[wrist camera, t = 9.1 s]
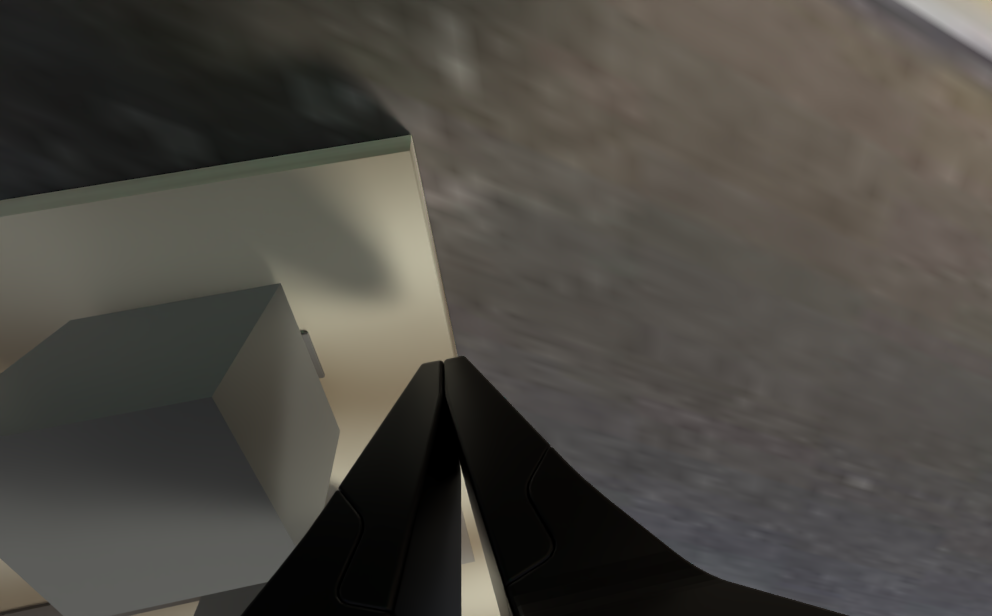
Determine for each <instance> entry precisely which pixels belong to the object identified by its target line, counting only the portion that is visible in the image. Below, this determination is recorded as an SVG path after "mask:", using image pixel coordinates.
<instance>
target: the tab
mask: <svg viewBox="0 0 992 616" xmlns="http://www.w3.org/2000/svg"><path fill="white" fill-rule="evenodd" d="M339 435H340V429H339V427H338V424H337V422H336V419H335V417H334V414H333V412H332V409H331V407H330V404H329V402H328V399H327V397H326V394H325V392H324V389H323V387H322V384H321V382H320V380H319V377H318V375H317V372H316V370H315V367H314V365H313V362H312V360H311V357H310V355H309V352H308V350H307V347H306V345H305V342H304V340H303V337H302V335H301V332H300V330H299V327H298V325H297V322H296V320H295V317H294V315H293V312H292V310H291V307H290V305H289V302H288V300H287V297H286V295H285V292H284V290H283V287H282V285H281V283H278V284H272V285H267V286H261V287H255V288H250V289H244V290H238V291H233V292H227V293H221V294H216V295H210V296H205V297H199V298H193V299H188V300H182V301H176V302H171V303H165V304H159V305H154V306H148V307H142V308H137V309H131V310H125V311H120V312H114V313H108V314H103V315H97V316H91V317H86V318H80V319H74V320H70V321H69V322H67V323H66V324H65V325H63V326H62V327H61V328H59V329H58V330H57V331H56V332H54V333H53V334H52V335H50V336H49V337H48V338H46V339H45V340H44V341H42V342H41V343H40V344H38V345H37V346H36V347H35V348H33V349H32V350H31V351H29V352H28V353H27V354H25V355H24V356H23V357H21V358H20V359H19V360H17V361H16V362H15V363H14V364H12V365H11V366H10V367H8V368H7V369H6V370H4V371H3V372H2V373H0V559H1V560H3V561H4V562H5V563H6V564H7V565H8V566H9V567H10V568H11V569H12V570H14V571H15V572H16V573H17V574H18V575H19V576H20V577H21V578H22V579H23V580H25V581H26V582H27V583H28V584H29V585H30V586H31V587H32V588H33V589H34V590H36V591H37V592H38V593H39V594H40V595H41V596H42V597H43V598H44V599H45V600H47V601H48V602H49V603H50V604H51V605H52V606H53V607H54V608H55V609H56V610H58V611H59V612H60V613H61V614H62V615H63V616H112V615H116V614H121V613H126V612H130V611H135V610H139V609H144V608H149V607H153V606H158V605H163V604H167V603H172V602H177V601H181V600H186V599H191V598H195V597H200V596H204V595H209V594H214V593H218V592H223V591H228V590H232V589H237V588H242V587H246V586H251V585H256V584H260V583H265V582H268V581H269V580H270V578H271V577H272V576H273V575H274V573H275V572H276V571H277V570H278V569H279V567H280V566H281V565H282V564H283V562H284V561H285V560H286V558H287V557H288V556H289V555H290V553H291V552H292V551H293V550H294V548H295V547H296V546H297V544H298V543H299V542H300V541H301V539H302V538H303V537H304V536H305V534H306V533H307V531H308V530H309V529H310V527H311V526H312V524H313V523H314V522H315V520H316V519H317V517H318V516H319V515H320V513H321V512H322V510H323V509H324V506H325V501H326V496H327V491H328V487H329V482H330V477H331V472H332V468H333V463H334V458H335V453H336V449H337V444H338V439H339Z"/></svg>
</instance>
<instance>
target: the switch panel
mask: <svg viewBox="0 0 992 616" xmlns="http://www.w3.org/2000/svg"><path fill="white" fill-rule="evenodd" d="M278 283H281V285H282V287H283V290H284V292H285V295H286V297H287V300H288V302H289V305H290V307H291V310H292V312H293V315H294V317H295V320H296V322H297V325H298V327H299V330H300V332H301V335H302V337H303V340H304V342H305V345H306V347H307V350H308V352H309V355H310V357H311V360H312V362H313V365H314V367H315V370H316V372H317V375H318V377H319V380H320V382H321V384H322V387H323V389H324V392H325V394H326V397H327V399H328V402H329V404H330V407H331V409H332V412H333V414H334V417H335V419H336V422H337V424H338V427H339V429H340V435H339V439H338V444H337V449H336V453H335V458H334V463H333V468H332V472H331V477H330V482H329V487H328V491H327V496H326V501H325V506H326V504H327V503H328V502H329V500H330V499H331V497H332V496H333V494H334V493H335V491H337V490H339V489H338V488H339V486H340V484H341V483H342V481H343V480H344V478H345V477H346V475H347V474H348V472H349V471H350V469H351V468H352V466H353V465H354V463H355V462H356V460H357V459H358V457H359V456H360V454H361V453H362V451H363V450H364V448H365V447H366V445H367V444H368V443H369V441H370V440H371V438H372V437H373V435H374V434H375V432H376V431H377V429H378V428H379V426H380V425H381V423H382V422H383V420H384V419H385V417H386V416H387V414H388V413H389V411H390V410H391V408H392V407H393V405H394V404H395V402H396V401H397V400H398V398H399V397H400V395H401V394H402V392H403V391H404V389H405V388H406V386H407V385H408V383H409V382H410V380H411V379H412V377H413V376H414V374H415V373H416V371H417V370H418V368H419V367H420V365H421V364H423V363H427V362H433V361H438V360H441V361H443V363H444V361H445V360H446V359H449V358H454V357H458V355H457V351H456V346H455V341H454V336H453V331H452V327H451V322H450V317H449V312H448V307H447V303H446V298H445V293H444V288H443V283H442V279H441V274H440V269H439V264H438V260H437V255H436V250H435V245H434V240H433V236H432V231H431V226H430V221H429V216H428V212H427V207H426V202H425V197H424V192H423V188H422V183H421V178H420V173H419V169H418V164H417V159H416V154H415V149H414V145H413V140H412V135H406V136H400V137H394V138H387V139H381V140H375V141H369V142H362V143H356V144H350V145H344V146H337V147H331V148H325V149H319V150H312V151H306V152H300V153H294V154H287V155H281V156H275V157H269V158H262V159H256V160H250V161H243V162H237V163H231V164H225V165H218V166H212V167H206V168H200V169H193V170H187V171H181V172H175V173H168V174H162V175H156V176H150V177H143V178H137V179H131V180H125V181H118V182H112V183H106V184H100V185H93V186H87V187H81V188H75V189H68V190H62V191H56V192H50V193H43V194H37V195H31V196H24V197H18V198H12V199H6V200H0V373H2V372H3V371H4V370H6V369H7V368H8V367H10V366H11V365H12V364H14V363H15V362H16V361H17V360H19V359H20V358H21V357H23V356H24V355H25V354H27V353H28V352H29V351H31V350H32V349H33V348H35V347H36V346H37V345H38V344H40V343H41V342H42V341H44V340H45V339H46V338H48V337H49V336H50V335H52V334H53V333H54V332H56V331H57V330H58V329H59V328H61V327H62V326H63V325H65V324H66V323H67V322H69V321H70V320H74V319H80V318H86V317H91V316H97V315H103V314H108V313H114V312H120V311H125V310H131V309H137V308H142V307H148V306H154V305H159V304H165V303H171V302H176V301H182V300H188V299H193V298H199V297H205V296H210V295H216V294H221V293H227V292H233V291H238V290H244V289H250V288H255V287H261V286H267V285H272V284H278ZM460 467H461V465H460ZM325 506H324V507H325ZM200 598H201V596H200V597H195V598H191V599H186V600H181V601H177V602H172V603H167V604H163V605H158V606H153V607H149V608H144V609H139V610H135V611H130V612H126V613H121V614H116V615H112V616H194V613H195V611H196V608H197V606H198V603H199V601H200ZM461 609H462V616H501V615H500V612H499V608H498V604H497V601H496V597H495V593H494V590H493V586H492V582H491V578H490V575H489V571H488V567H487V564H486V560H485V556H484V553H483V549H482V545H481V541H480V538H479V534H478V530H477V527H476V523H475V519H474V516H473V512H472V508H471V504H470V501H469V497H468V493H467V490H466V486H465V482H464V478H463V474H462V469H461ZM0 616H63V615H62V614H61V613H60V612H59V611H58V610H56V609H55V608H54V607H53V606H52V605H51V604H50V603H49V602H48V601H47V600H45V599H44V598H43V597H42V596H41V595H40V594H39V593H38V592H37V591H36V590H34V589H33V588H32V587H31V586H30V585H29V584H28V583H27V582H26V581H25V580H23V579H22V578H21V577H20V576H19V575H18V574H17V573H16V572H15V571H14V570H12V569H11V568H10V567H9V566H8V565H7V564H6V563H5V562H4V561H3V560H1V559H0Z"/></svg>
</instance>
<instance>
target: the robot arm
mask: <svg viewBox="0 0 992 616" xmlns="http://www.w3.org/2000/svg"><path fill="white" fill-rule="evenodd" d="M460 465H461V467H460ZM461 469H462V474H463V478H464V482H465V486H466V490H467V493H468V497H469V501H470V504H471V508H472V512H473V516H474V519H475V523H476V527H477V530H478V534H479V538H480V541H481V545H482V549H483V553H484V556H485V560H486V564H487V567H488V571H489V575H490V578H491V582H492V586H493V590H494V593H495V597H496V601H497V604H498V608H499V612H500V615H501V616H848V615H844V614H841V613H837V612H834V611H830V610H827V609H823V608H820V607H816V606H813V605H809V604H806V603H802V602H799V601H795V600H792V599H788V598H785V597H781V596H778V595H774V594H771V593H767V592H764V591H760V590H757V589H753V588H750V587H746V586H743V585H739V584H736V583H732V582H729V581H726V580H722V579H720V578H718V577H715V576H713V575H711V574H709V573H707V572H705V571H703V570H701V569H700V568H698V567H696V566H694V565H693V564H691V563H690V562H688V561H687V560H685V559H684V558H682V557H681V556H680V555H678V554H677V553H676V552H674V551H673V550H672V549H670V548H669V547H668V546H667V545H665V544H664V543H663V542H662V541H660V540H659V539H658V538H657V537H655V536H654V535H653V534H652V533H650V532H649V531H648V530H646V529H645V528H644V527H643V526H641V525H640V524H639V523H638V522H636V521H635V520H634V519H633V518H631V517H630V516H629V515H628V514H626V513H625V512H624V511H623V510H621V509H620V508H619V507H618V506H616V505H615V504H614V503H612V502H611V501H610V500H609V499H607V498H606V497H605V496H604V495H603V494H602V493H600V492H599V491H598V490H597V489H596V488H594V487H593V486H592V485H591V484H590V483H588V482H587V481H586V480H585V479H584V478H583V477H582V476H581V475H580V474H579V473H578V472H577V471H575V470H574V469H573V468H572V467H571V466H570V465H569V464H568V463H567V462H566V461H565V460H564V459H563V458H562V457H561V456H560V455H559V454H558V453H557V451H556V450H555V449H554V448H552V447H550V445H549V443H548V442H547V441H546V440H545V439H544V438H543V437H542V436H541V435H540V434H539V433H538V432H537V431H536V430H535V429H534V428H533V427H532V426H531V425H530V424H529V423H528V422H527V421H526V420H525V418H524V417H523V416H522V415H521V414H520V413H519V412H518V411H517V410H516V409H515V408H514V407H513V406H512V405H511V404H510V403H509V402H508V401H507V400H506V399H505V398H504V397H503V396H502V395H501V394H500V392H499V391H498V390H497V389H496V388H495V387H494V386H493V385H492V384H491V383H490V382H489V381H488V380H487V379H486V378H485V377H484V376H483V375H482V374H481V373H480V372H479V371H478V370H477V369H476V368H475V366H474V365H473V364H472V363H471V362H470V361H469V360H468V359H467V358H466V357H464V356H459V357H454V358H449V359H446V360H445V361H444V363H443V361H441V360H438V361H433V362H427V363H423V364H421V365H420V367H419V368H418V370H417V371H416V373H415V374H414V376H413V377H412V379H411V380H410V382H409V383H408V385H407V386H406V388H405V389H404V391H403V392H402V394H401V395H400V397H399V398H398V400H397V401H396V402H395V404H394V405H393V407H392V408H391V410H390V411H389V413H388V414H387V416H386V417H385V419H384V420H383V422H382V423H381V425H380V426H379V428H378V429H377V431H376V432H375V434H374V435H373V437H372V438H371V440H370V441H369V443H368V444H367V445H366V447H365V448H364V450H363V451H362V453H361V454H360V456H359V457H358V459H357V460H356V462H355V463H354V465H353V466H352V468H351V469H350V471H349V472H348V474H347V475H346V477H345V478H344V480H343V481H342V483H341V484H340V486H339V488H338V489H339V490H337V491H335V493H334V494H333V496H332V497H331V499H330V500H329V502H328V503H327V504H326V506H325V507H324V509H323V510H322V512H321V513H320V515H319V516H318V517H317V519H316V520H315V522H314V523H313V524H312V526H311V527H310V529H309V530H308V531H307V533H306V534H305V536H304V537H303V538H302V539H301V541H300V542H299V543H298V544H297V546H296V547H295V548H294V550H293V551H292V552H291V553H290V555H289V556H288V557H287V558H286V560H285V561H284V562H283V564H282V565H281V566H280V567H279V569H278V570H277V571H276V572H275V573H274V575H273V576H272V577H271V578H270V580H269V581H268V582H267V583H266V584H265V586H264V587H263V588H262V589H261V591H260V592H259V593H258V594H257V595H256V597H255V598H254V599H253V600H252V601H251V603H250V604H249V605H248V606H247V608H246V609H245V610H244V611H243V612H242V614H241V615H240V616H462V609H461Z"/></svg>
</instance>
